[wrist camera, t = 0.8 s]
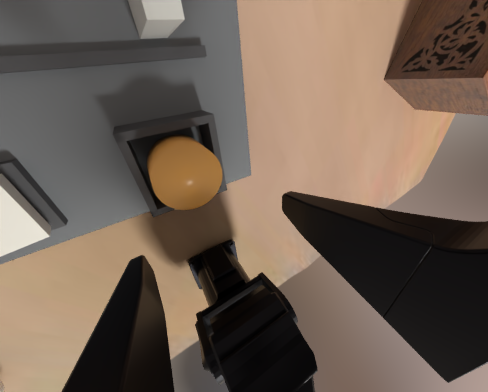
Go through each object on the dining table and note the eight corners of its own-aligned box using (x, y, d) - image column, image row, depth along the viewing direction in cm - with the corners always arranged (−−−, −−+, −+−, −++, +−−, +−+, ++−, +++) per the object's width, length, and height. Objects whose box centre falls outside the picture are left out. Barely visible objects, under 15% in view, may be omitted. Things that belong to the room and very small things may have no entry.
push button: (212, 180, 16) (226, 196, 14) (159, 198, 14) (166, 219, 12) (200, 128, 13) (216, 137, 11) (135, 142, 12) (138, 156, 10)
